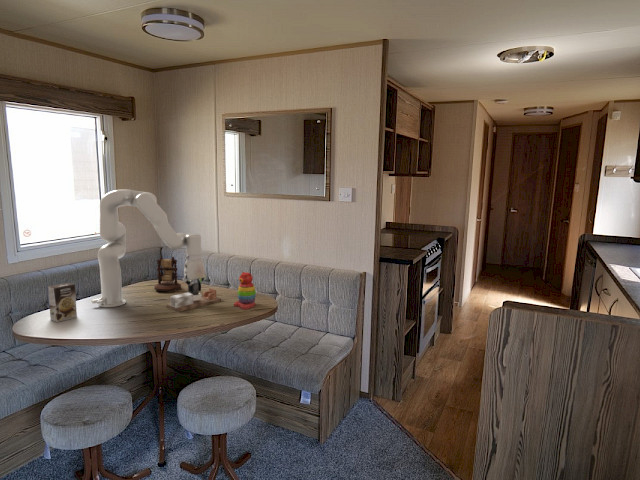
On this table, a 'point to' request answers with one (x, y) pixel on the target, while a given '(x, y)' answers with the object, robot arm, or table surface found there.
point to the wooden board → (186, 300)
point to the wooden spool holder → (167, 275)
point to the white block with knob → (196, 291)
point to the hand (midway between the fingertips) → (194, 291)
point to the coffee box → (62, 302)
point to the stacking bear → (246, 292)
